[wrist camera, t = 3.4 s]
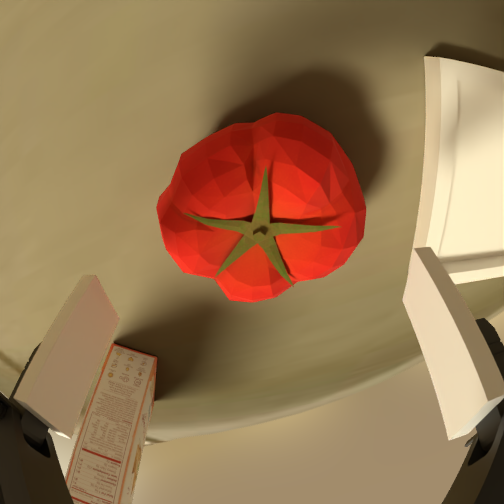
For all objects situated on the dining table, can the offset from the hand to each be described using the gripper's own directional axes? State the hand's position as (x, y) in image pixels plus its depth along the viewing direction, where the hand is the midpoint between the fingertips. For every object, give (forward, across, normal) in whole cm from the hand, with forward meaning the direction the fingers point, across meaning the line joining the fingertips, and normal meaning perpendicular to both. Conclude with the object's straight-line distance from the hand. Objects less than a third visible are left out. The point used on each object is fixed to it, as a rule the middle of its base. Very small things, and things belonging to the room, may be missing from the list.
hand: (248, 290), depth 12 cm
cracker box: (+10, -19, -22) cm, 31 cm away
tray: (+9, +20, 0) cm, 22 cm away
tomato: (+9, 0, 0) cm, 9 cm away
